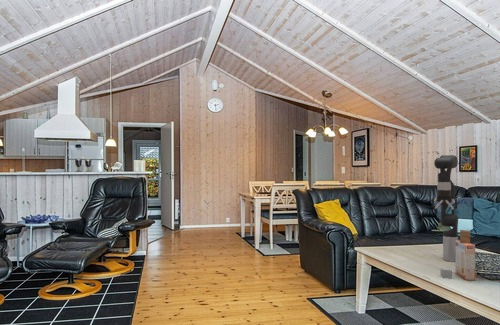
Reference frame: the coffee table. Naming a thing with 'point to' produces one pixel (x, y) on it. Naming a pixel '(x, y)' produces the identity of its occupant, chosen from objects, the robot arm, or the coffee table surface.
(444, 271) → the grey block
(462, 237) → the walnut block
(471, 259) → the cracker box
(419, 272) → the coffee table surface
